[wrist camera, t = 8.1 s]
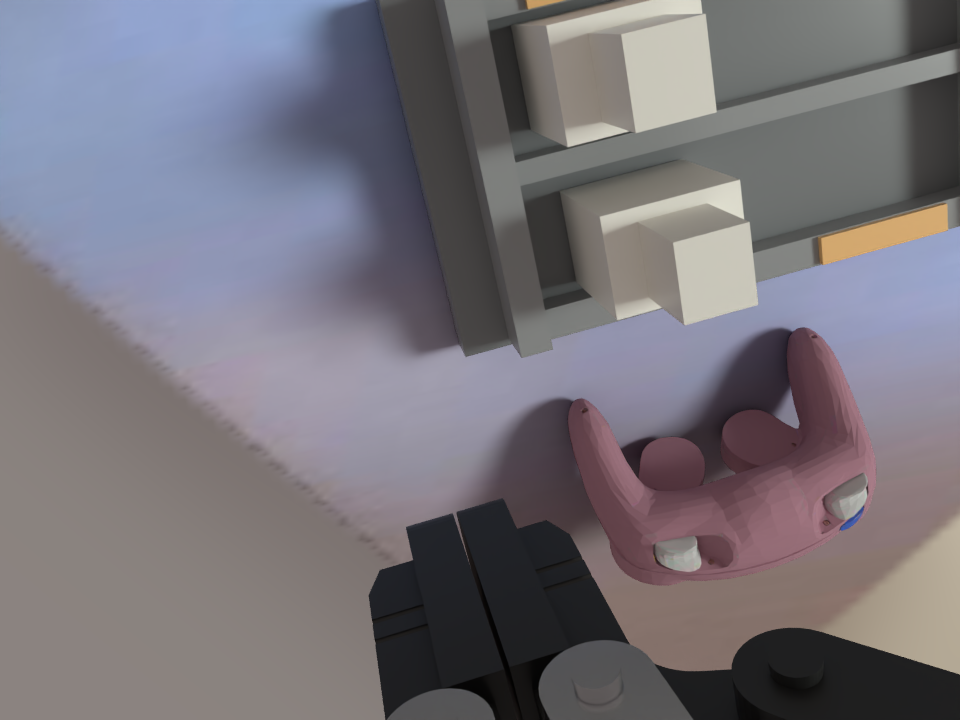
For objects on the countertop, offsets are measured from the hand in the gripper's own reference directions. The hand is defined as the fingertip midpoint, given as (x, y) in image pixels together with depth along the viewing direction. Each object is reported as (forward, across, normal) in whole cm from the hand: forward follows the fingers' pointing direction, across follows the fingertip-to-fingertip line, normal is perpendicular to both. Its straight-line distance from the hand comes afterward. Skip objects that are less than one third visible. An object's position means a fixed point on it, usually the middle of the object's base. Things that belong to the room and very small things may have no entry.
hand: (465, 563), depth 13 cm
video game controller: (+17, -10, +9) cm, 22 cm away
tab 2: (+15, -8, 0) cm, 17 cm away
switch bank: (+17, -12, -2) cm, 21 cm away
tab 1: (+15, -8, -5) cm, 18 cm away
